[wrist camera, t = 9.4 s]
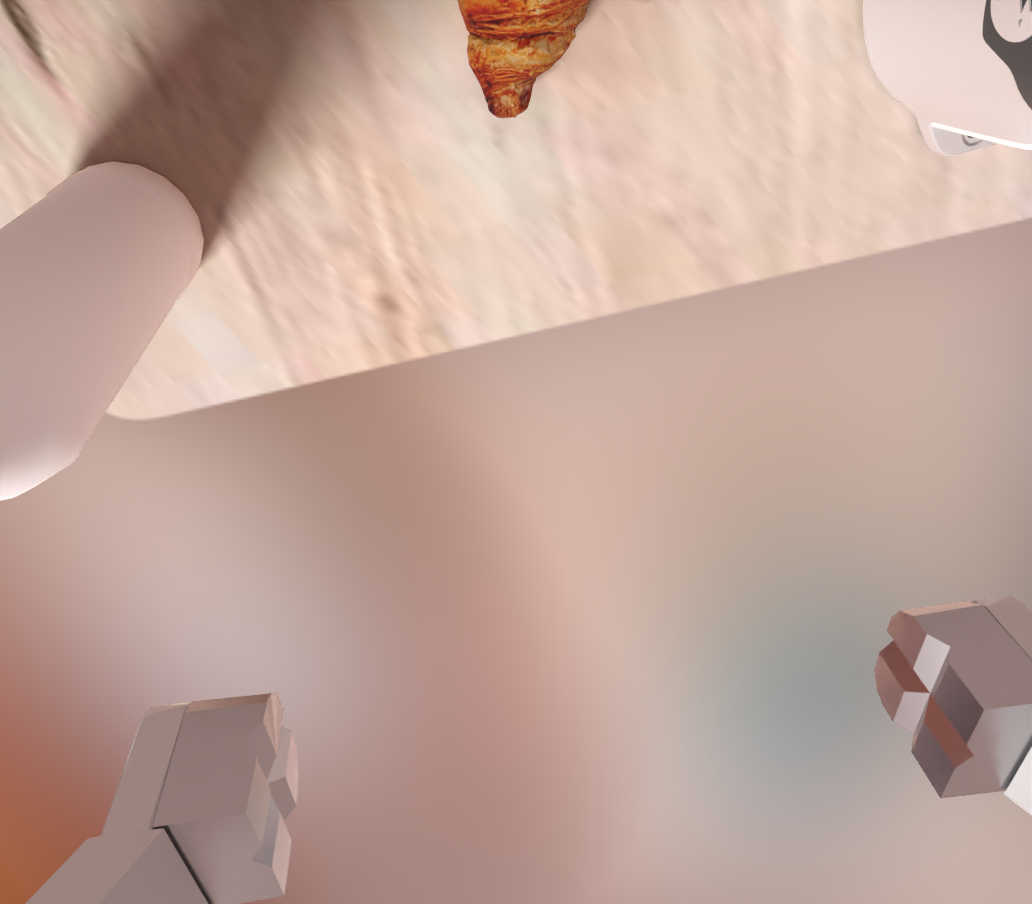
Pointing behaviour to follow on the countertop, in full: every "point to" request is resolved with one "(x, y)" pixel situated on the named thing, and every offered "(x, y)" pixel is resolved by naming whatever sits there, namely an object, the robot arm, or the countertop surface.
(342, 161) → the countertop surface
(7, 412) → the bottle
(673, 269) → the countertop surface
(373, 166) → the countertop surface
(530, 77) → the croissant
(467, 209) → the countertop surface
